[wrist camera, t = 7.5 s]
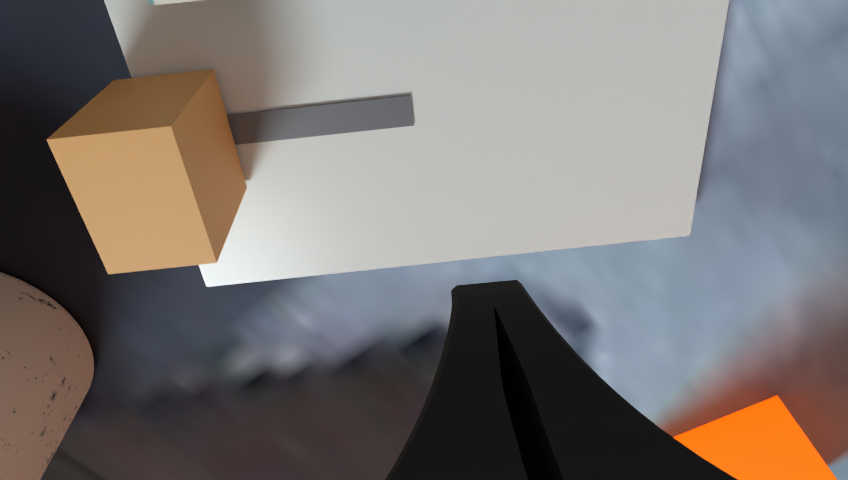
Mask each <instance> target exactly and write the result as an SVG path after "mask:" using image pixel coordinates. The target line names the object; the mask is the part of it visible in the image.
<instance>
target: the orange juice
mask: <svg viewBox="0 0 848 480" xmlns="http://www.w3.org/2000/svg"><path fill="white" fill-rule="evenodd" d="M673 438H675V439H676V440H677V441H679V442H680V443H682V444H683V445H685V446H686V447H687V448H689V449H690V450H692V451H693V452H695V453H696V454H697V455H699V456H700V457H702V458H703V459H705V460H707V461H708V462H710V463H712V464H713V465H715V466H716V467H718V468H720V469H721V470H723V471H725V472H726V473H728V474H729V475H731V476H733V477H734V478H736V479H738V480H837V479H836V477H835V476H834V475H833V473H832V472H831V470H830V469H829V468H828V466H827V465H826V463H825V462H824V461H823V459H822V458H821V456H820V455H819V453H818V452H817V451H816V449H815V448H814V446H813V445H812V444H811V442H810V441H809V439H808V438H807V437H806V435H805V434H804V432H803V431H802V429H801V428H800V427H799V425H798V424H797V422H796V421H795V420H794V418H793V417H792V415H791V414H790V412H789V411H788V410H787V408H786V407H785V405H784V404H783V403H782V401H781V400H780V398H779V397H778V396H774V397H772V398H769V399H767V400H764V401H762V402H760V403H757V404H755V405H752V406H750V407H747V408H745V409H742V410H740V411H737V412H735V413H732V414H730V415H727V416H725V417H722V418H720V419H717V420H715V421H712V422H710V423H707V424H705V425H702V426H700V427H697V428H695V429H692V430H690V431H687V432H685V433H683V434H680V435H678V436H675V437H673Z"/></svg>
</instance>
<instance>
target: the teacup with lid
mask: <svg viewBox="0 0 848 480" xmlns="http://www.w3.org/2000/svg"><path fill="white" fill-rule="evenodd" d="M93 374H94V359H93V353H92V350H91V346H90V344H89V342H88V339H87V337H86V336H85V334H84V332H83V330H82V329H81V327H80V326H79V325H78V323H77V322H76V321H75V319H74V318H73V317H72V316H71V315H70V314H69V313H68V312H67V311H66V310H65V309H64V308H63V307H62V306H61V305H60V304H58V303H57V302H56V301H55V300H54V299H52V298H51V297H49V296H48V295H47V294H45V293H44V292H42V291H40V290H39V289H37V288H35V287H34V286H32V285H30V284H28V283H26V282H24V281H22V280H19V279H17V278H15V277H12V276H10V275H7V274H4V273H2V272H0V480H40V479H41V477H42V475H43V474H44V472H45V470H46V468H47V466H48V464H49V462H50V461H51V459H52V457H53V455H54V453H55V451H56V449H57V448H58V446H59V444H60V442H61V440H62V438H63V437H64V435H65V433H66V431H67V429H68V427H69V425H70V424H71V422H72V420H73V418H74V416H75V414H76V413H77V411H78V409H79V407H80V405H81V403H82V401H83V400H84V398H85V396H86V394H87V392H88V390H89V388H90V386H91V383H92V379H93Z"/></svg>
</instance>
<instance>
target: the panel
mask: <svg viewBox="0 0 848 480" xmlns="http://www.w3.org/2000/svg"><path fill="white" fill-rule="evenodd" d="M104 1H105V4H106V7H107V10H108V13H109V15H110V18H111V21H112V24H113V27H114V29H115V32H116V35H117V38H118V41H119V43H120V46H121V49H122V52H123V55H124V57H125V60H126V63H127V66H128V69H129V71H130V74H131V77H132V78H138V77H147V76H156V75H165V74H175V73H184V72H193V71H202V70H211V69H214V72H215V75H216V79H217V82H218V86H219V89H220V93H221V96H222V100H223V104H224V107H225V111H226V114H227V118H228V121H229V125H230V128H231V132H232V136H233V139H234V143H235V146H236V150H237V153H238V157H239V160H240V164H241V168H242V171H243V175H244V178H245V182H246V185H247V189H246V191H245V194H244V196H243V199H242V201H241V204H240V206H239V209H238V211H237V214H236V216H235V219H234V221H233V224H232V226H231V229H230V231H229V234H228V236H227V239H226V241H225V244H224V246H223V249H222V251H221V254H220V256H219V259H218V261H217V263H210V264H201V265H199V267H200V270H201V273H202V276H203V279H204V281H205V284H206V287H211V286H221V285H230V284H239V283H249V282H258V281H268V280H277V279H286V278H296V277H305V276H315V275H324V274H333V273H343V272H352V271H362V270H371V269H381V268H390V267H399V266H409V265H418V264H428V263H437V262H446V261H456V260H465V259H475V258H484V257H493V256H503V255H512V254H522V253H531V252H540V251H550V250H559V249H569V248H578V247H588V246H597V245H606V244H616V243H625V242H635V241H644V240H653V239H663V238H672V237H682V236H690V231H691V225H692V219H693V213H694V207H695V201H696V195H697V189H698V183H699V177H700V171H701V166H702V160H703V154H704V148H705V142H706V136H707V130H708V124H709V118H710V112H711V106H712V100H713V94H714V88H715V82H716V76H717V70H718V64H719V58H720V52H721V46H722V40H723V34H724V28H725V22H726V16H727V10H728V4H729V0H203V1H192V2H182V3H171V4H161V5H155V4H149V1H148V0H104Z"/></svg>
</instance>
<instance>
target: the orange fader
mask: <svg viewBox="0 0 848 480" xmlns="http://www.w3.org/2000/svg"><path fill="white" fill-rule="evenodd" d="M47 142H48V144H49V146H50V149H51V151H52V153H53V155H54V157H55V160H56V162H57V164H58V166H59V168H60V170H61V173H62V175H63V177H64V179H65V181H66V183H67V186H68V188H69V190H70V192H71V194H72V197H73V199H74V201H75V203H76V205H77V207H78V210H79V212H80V214H81V216H82V218H83V220H84V223H85V225H86V227H87V229H88V231H89V234H90V236H91V238H92V240H93V242H94V244H95V247H96V249H97V251H98V253H99V255H100V257H101V260H102V262H103V264H104V266H105V268H106V271H107V273H108V274H116V273H125V272H135V271H144V270H154V269H163V268H172V267H182V266H191V265H201V264H210V263H217V261H218V259H219V256H220V254H221V251H222V249H223V246H224V244H225V241H226V239H227V236H228V234H229V231H230V229H231V226H232V224H233V221H234V219H235V216H236V214H237V211H238V209H239V206H240V204H241V201H242V199H243V196H244V194H245V191H246V189H247V185H246V182H245V178H244V175H243V171H242V168H241V164H240V160H239V157H238V153H237V150H236V146H235V143H234V139H233V136H232V132H231V128H230V125H229V121H228V118H227V114H226V111H225V107H224V104H223V100H222V96H221V93H220V89H219V86H218V82H217V79H216V75H215V72H214V69H211V70H202V71H193V72H184V73H175V74H165V75H156V76H147V77H138V78H129V79H119V80H114V81H113V82H111V83H110V84H109V85H108V86H107V87H106V88H105V89H103V90H102V91H101V92H100V93H99V94H98V95H97V96H95V97H94V98H93V99H92V100H91V101H90V102H89V103H88V104H86V105H85V106H84V107H83V108H82V109H81V110H80V111H78V112H77V113H76V114H75V115H74V116H73V117H72V118H70V119H69V120H68V121H67V122H66V123H65V124H64V125H62V126H61V127H60V128H59V129H58V130H57V131H56V132H55V133H53V134H52V135H51V136H50V137H49V138H48V139H47Z"/></svg>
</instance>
